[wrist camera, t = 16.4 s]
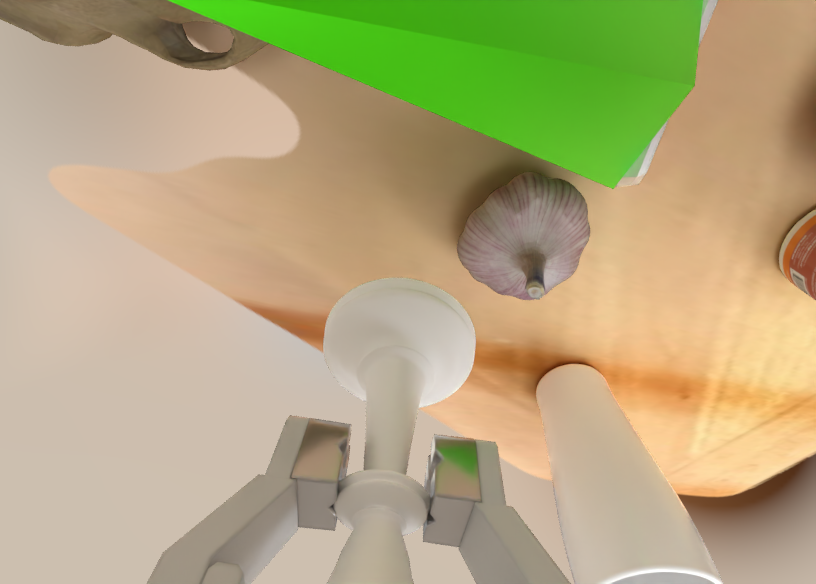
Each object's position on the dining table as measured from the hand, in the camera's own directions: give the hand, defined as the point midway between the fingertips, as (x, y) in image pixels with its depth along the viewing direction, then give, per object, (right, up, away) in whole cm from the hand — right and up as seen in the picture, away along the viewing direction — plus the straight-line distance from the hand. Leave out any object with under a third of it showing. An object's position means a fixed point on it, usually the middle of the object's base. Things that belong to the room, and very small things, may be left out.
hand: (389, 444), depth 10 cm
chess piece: (0, +2, +4) cm, 4 cm away
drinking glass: (+13, -4, +23) cm, 27 cm away
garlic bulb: (+7, +8, +16) cm, 19 cm away
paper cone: (-4, +7, -6) cm, 10 cm away
